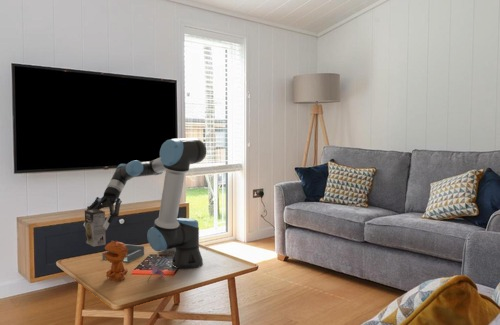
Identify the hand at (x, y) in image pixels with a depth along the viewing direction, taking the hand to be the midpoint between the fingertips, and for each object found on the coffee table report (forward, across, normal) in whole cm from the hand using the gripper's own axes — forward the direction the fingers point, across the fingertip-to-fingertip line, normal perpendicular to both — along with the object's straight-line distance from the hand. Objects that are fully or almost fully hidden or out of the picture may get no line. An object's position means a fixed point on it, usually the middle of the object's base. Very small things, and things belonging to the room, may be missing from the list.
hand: (94, 227), depth 209 cm
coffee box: (+6, 0, -6) cm, 8 cm away
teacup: (-14, -18, -44) cm, 50 cm away
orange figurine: (+20, -17, -10) cm, 28 cm away
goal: (-1, 0, -31) cm, 31 cm away
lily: (+17, -35, -13) cm, 41 cm away
